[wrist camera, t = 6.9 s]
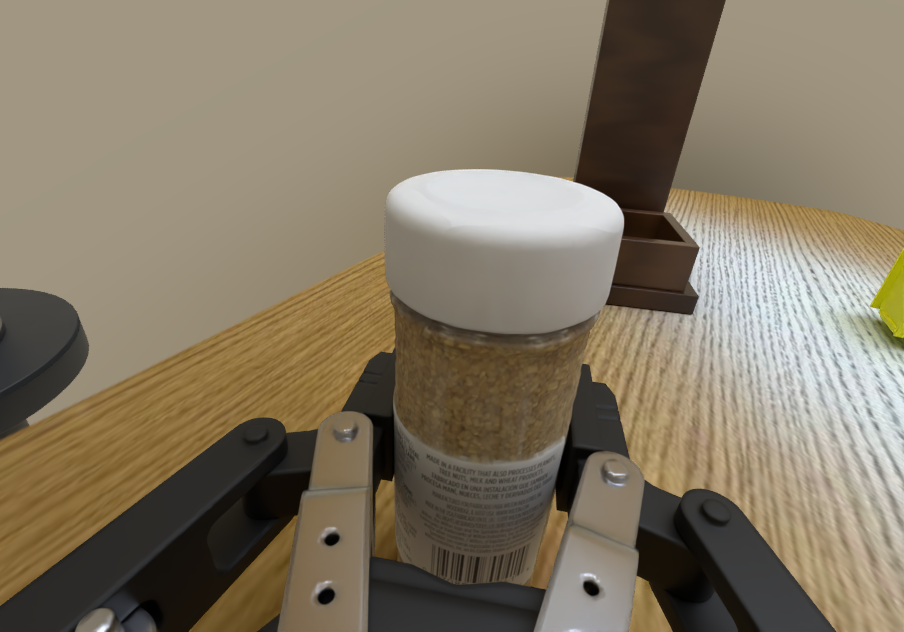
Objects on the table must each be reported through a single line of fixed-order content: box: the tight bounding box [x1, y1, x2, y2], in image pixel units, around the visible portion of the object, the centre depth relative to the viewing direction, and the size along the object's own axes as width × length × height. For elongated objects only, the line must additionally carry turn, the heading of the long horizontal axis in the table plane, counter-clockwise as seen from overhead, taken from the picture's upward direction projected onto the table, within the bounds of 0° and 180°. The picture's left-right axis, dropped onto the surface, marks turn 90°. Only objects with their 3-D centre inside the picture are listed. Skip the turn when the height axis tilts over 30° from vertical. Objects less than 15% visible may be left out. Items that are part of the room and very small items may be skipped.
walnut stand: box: [573, 0, 725, 314], centre depth 34 cm, size 10×12×22 cm
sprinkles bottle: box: [385, 169, 624, 587], centre depth 12 cm, size 5×5×14 cm
